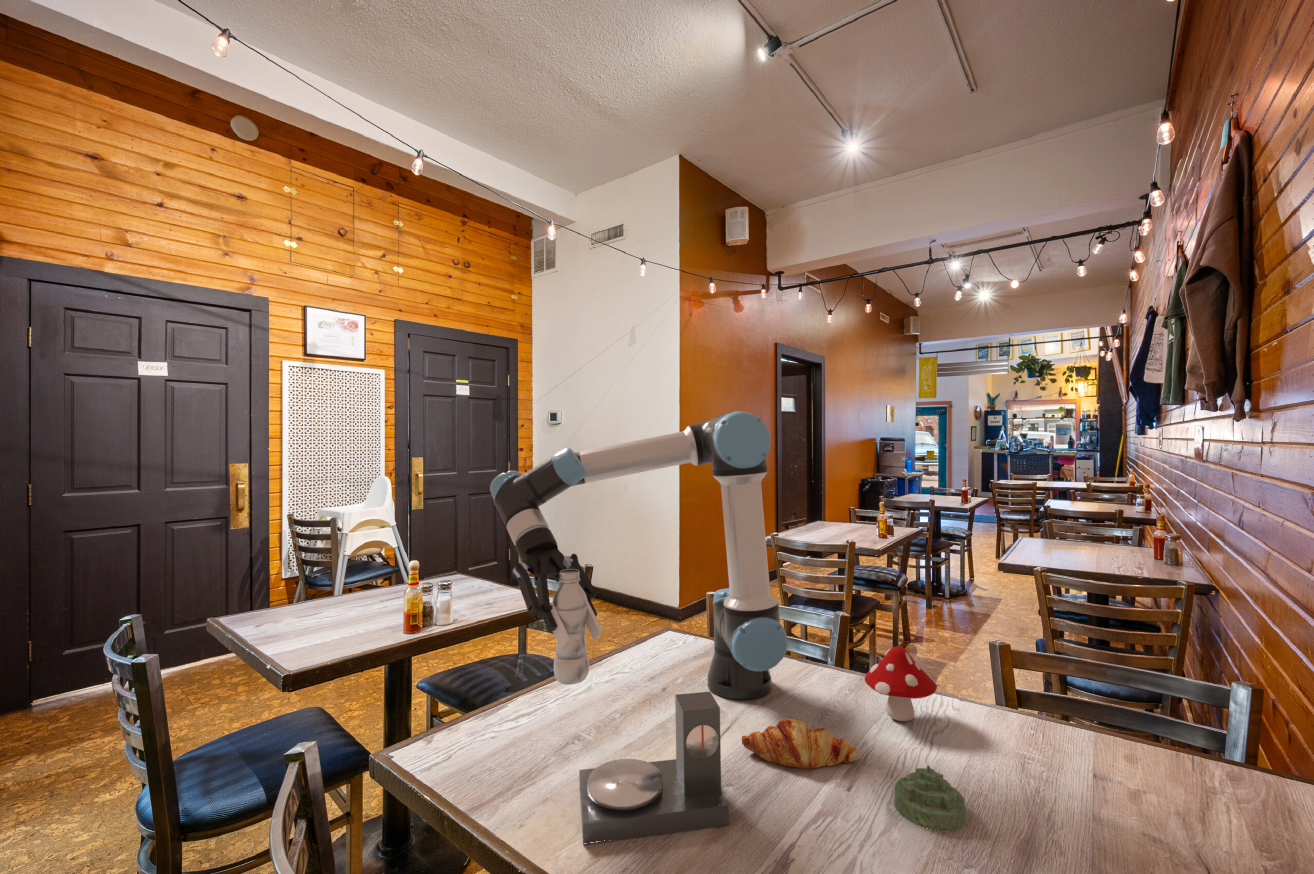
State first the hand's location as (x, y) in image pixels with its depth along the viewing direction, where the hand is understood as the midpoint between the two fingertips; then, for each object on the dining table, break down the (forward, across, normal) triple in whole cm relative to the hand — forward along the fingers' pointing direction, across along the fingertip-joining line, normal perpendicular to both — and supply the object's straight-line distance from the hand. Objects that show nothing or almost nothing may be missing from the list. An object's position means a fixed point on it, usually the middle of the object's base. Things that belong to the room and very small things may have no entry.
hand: (582, 639), depth 101 cm
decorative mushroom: (+38, -59, +4) cm, 71 cm away
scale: (+27, -2, -6) cm, 28 cm away
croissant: (+34, -31, 0) cm, 46 cm away
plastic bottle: (+4, 0, -9) cm, 9 cm away
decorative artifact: (+50, -33, +15) cm, 62 cm away
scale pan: (+23, +1, -5) cm, 24 cm away
